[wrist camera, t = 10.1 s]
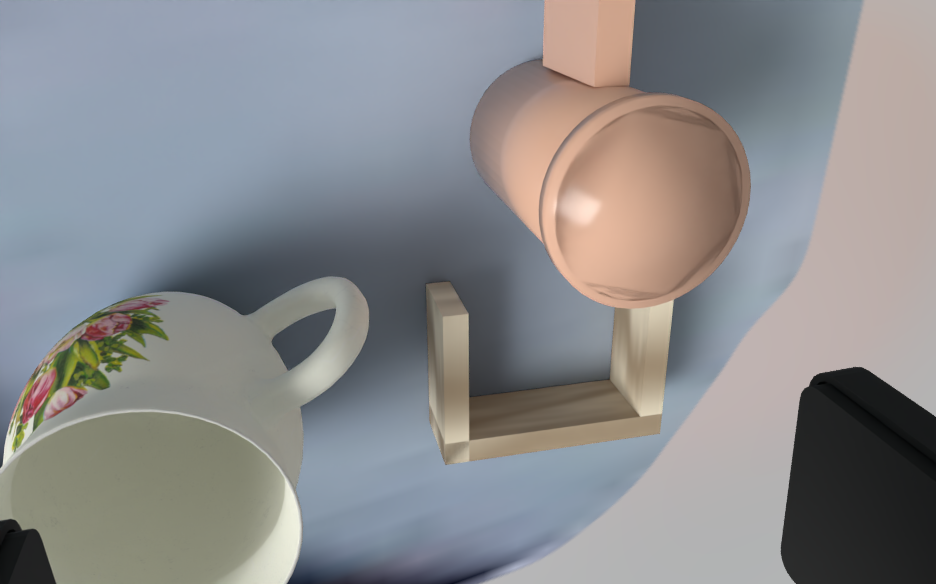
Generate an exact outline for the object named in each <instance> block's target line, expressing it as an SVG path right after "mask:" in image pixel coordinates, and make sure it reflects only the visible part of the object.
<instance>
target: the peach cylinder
mask: <svg viewBox="0 0 936 584" xmlns="http://www.w3.org/2000/svg"><path fill="white" fill-rule="evenodd" d="M634 13H635V0H545V6H544V39H543V59H541V60H533V61H529V62H525V63H522V64H520V65H517V66H515V67H513V68H511V69H510V70H508V71H506V72H505V73H504V74H502V75H501V76H500V77H498V78H497V79H496V80H495V81H494V82H493V83H492V84H491V85H490V86H489V88H488V89H487V90H486V91H485V93H484V94H483V96H482V98H481V99H480V101H479V103H478V105H477V107H476V109H475V112H474V115H473V119H472V123H471V128H470V149H471V154H472V159H473V162H474V165H475V167H476V169H477V171H478V173H479V175H480V177H481V178H482V179H483V181H484V182H485V183H486V185H487V186H488V187H489V188H490V189H491V190H492V191H493V192H494V193H495V194H496V195H497V196H498V197H499V198H500V199H501V200H502V201H503V202H504V203H505V204H506V205H507V206H508V207H509V208H510V210H511V211H512V212H513V213H514V214H515V215H516V216H517V217H518V218H519V219H520V220H521V221H522V222H523V223H524V224H525V225H526V226H527V227H528V228H529V229H530V230H531V231H532V232H533V233H534V234H535V235H536V236H537V237H538V238H539V239H540V240H541V241H542V243H543V244H544V246H545V249H546V251H547V253H548V255H549V257H550V259H551V261H552V262H553V264H554V265H555V267H556V268H557V270H558V271H559V272H560V273H561V274H562V275H563V276H564V277H565V278H566V279H567V280H568V281H569V283H570V284H571V285H572V286H573V287H574V288H576V289H577V290H578V291H579V292H581V293H582V294H583V295H585V296H587V297H588V298H590V299H592V300H594V301H596V302H599V303H601V304H604V305H608V306H612V307H616V308H627V309H635V308H646V307H652V306H656V305H660V304H663V303H666V302H669V301H671V300H674V299H676V298H678V297H680V296H682V295H684V294H686V293H687V292H689V291H691V290H692V289H694V288H695V287H696V286H698V285H699V284H701V283H702V282H703V281H704V280H705V279H706V278H708V277H709V276H710V275H711V274H712V273H713V272H714V271H715V270H716V269H717V268H718V266H719V265H720V264H721V263H722V262H723V260H724V259H725V258H726V256H727V255H728V254H729V252H730V251H731V249H732V247H733V246H734V244H735V242H736V240H737V238H738V236H739V234H740V232H741V229H742V227H743V224H744V221H745V218H746V215H747V211H748V206H749V201H750V188H751V183H750V170H749V165H748V160H747V157H746V154H745V150H744V148H743V146H742V144H741V142H740V140H739V137H738V136H737V134H736V133H735V131H734V130H733V129H732V127H731V126H730V125H729V124H728V123H727V122H726V121H725V120H724V119H723V118H722V117H721V116H720V115H719V114H717V113H716V112H715V111H713V110H712V109H710V108H709V107H707V106H705V105H703V104H701V103H699V102H696V101H693V100H690V99H687V98H684V97H681V96H678V95H675V94H669V93H661V92H647V93H646V92H643V91H640V90H638V89H635V88H632V87H630V86H629V83H630V69H631V55H632V41H633V27H634Z"/></svg>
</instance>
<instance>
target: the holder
mask: <svg viewBox="0 0 936 584" xmlns="http://www.w3.org/2000/svg"><path fill="white" fill-rule="evenodd" d="M673 302H674V300H671V301H669V302H666V303H663V304H660V305H656V306H652V307H646V308H635V309H627V308H616V307H615V313H614V327H613V341H612V354H611V368H610V379H609V380H601V381H593V382H586V383H578V384H570V385H562V386H554V387H547V388H539V389H531V390H523V391H515V392H508V393H500V394H492V395H484V396H476V397H469V314H468V312H467V310H466V309H465V307H464V305H463V303H462V302H461V300H460V298H459V297H458V295H457V293H456V291H455V290H454V288H453V286H452V285H451V283H450V281H448V282H438V283H428V284H426V303H427V340H428V378H429V415H430V424H431V427H432V430H433V432H434V435H435V438H436V440H437V443H438V446H439V449H440V451H441V454H442V457H443V459H444V462H445V465H447V464H454V463H461V462H468V461H475V460H482V459H489V458H496V457H502V456H509V455H516V454H523V453H530V452H537V451H544V450H551V449H557V448H564V447H571V446H578V445H585V444H592V443H599V442H606V441H612V440H619V439H626V438H633V437H640V436H647V435H654V434H660V427H661V417H662V408H663V398H664V388H665V379H666V369H667V360H668V350H669V340H670V331H671V321H672V311H673Z"/></svg>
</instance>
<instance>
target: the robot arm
mask: <svg viewBox="0 0 936 584" xmlns="http://www.w3.org/2000/svg"><path fill="white" fill-rule="evenodd" d="M781 556H782V561H783V564H784V567H785V569H786V571H787V573H788V574H789V576H790V577H791V578H792V580H793V581H794V582H795V583H796V584H936V417H935V416H934V415H932V414H931V413H930V412H928V411H927V410H925V409H924V408H922V407H921V406H919V405H918V404H916V403H915V402H914V401H912V400H911V399H909V398H907V397H906V396H905V395H903V394H902V393H900V392H899V391H897V390H896V389H895V388H893V387H892V386H890V385H889V384H887V383H886V382H884V381H883V380H881V379H880V378H878V377H877V376H876V375H874V374H873V373H871V372H870V371H868V370H866V369H864V368H862V367H853V368H847V369H841V370H836V371H830V372H825V373H820V374H817V375H816V376H814V377H813V379H812V380H811V382H810V385H809V387H807V388H805V389H804V390H803V392H802V393H801V397H800V402H799V410H798V418H797V426H796V434H795V441H794V449H793V457H792V465H791V472H790V480H789V489H788V496H787V503H786V511H785V519H784V527H783V535H782V542H781ZM0 584H56V581H55V578H54V575H53V572H52V569H51V566H50V563H49V560H48V557H47V554H46V551H45V547H44V544H43V541H42V539H41V536H40V534H39V532H38V531H37V530H36V529H33V528H32V529H27V530H22V529H21V527H20V525H19V524H18V522H17V521H16V520H13V519H7V520H1V521H0Z"/></svg>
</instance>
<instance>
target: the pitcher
mask: <svg viewBox="0 0 936 584" xmlns="http://www.w3.org/2000/svg"><path fill="white" fill-rule="evenodd" d="M334 308H336V315H335V318H334V321H333V324H332V327H331V329H330V331H329V333H328V334H327V336H326V337H325V339H324V340H323V342H322V343H321V344H320V345H319V346H318V348H317V349H316V350H315V351H314V352H313V353H312V354H311V355H310V356H309V357H308V358H306V359H305V360H304V361H303V362H301V363H300V364H299V365H297V366H296V367H294V368H293V369H291V370H289V371H288V370H287V368H286V367H285V365H284V363H283V361H282V359H281V358H280V356H279V354H278V352H277V351H276V349H275V348H274V347H273V345H272V339H273V337H274V336H275V335H276V334H278V333H279V332H280V331H282V330H283V329H285V328H286V327H288V326H290V325H291V324H293V323H295V322H297V321H298V320H300V319H302V318H304V317H307V316H309V315H312V314H315V313H318V312H321V311H324V310H328V309H334ZM368 329H369V308H368V305H367V301H366V299H365V297H364V296H363V295H362V293H361V292H360V290H359V289H358V288H357V286H356V285H355V284H354V283H353V282H352V281H350V280H348V279H346V278H342V277H334V276H329V277H323V278H319V279H315V280H312V281H309V282H307V283H304V284H302V285H299V286H297V287H295V288H293V289H291V290H289V291H288V292H286V293H284V294H282V295H281V296H279V297H277V298H276V299H274V300H272V301H271V302H269V303H267V304H266V305H264V306H263V307H261V308H260V309H258V310H257V311H255V312H254V313H251V314H249V315H241V314H239V313H238V312H237V311H236V310H234V309H232V308H230V307H228V306H227V305H225V304H223V303H221V302H219V301H216V300H214V299H211V298H209V297H205V296H201V295H197V294H192V293H185V292H157V293H149V294H144V295H140V296H135V297H131V298H128V299H126V300H123V301H120V302H117V303H115V304H113V305H110V306H108V307H106V308H104V309H102V310H100V311H98V312H96V313H95V314H93V315H92V316H90V317H89V318H87V319H86V320H84V321H83V322H81V323H80V324H78V325H77V326H76V327H74V328H73V329H72V330H71V331H70V332H69V333H67V334H66V335H65V336H64V337H63V338H62V339H61V340H60V341H59V342H58V343H57V344H56V345H55V346H54V347H53V348H52V349H51V350H50V352H49V353H48V354H47V355H46V356H45V357H44V359H43V360H42V361H41V363H40V364H39V365H38V367H37V368H36V370H35V371H34V373H33V374H32V376H31V378H30V379H29V381H28V382H27V384H26V386H25V388H24V390H23V392H22V393H21V395H20V398H19V400H18V403H17V405H16V407H15V410H14V412H13V415H12V418H11V421H10V425H9V429H8V433H7V437H6V442H5V448H4V460H3V466H2V467H1V468H0V521H1V520H7V519H13V520H16V521H17V522H18V524H19V525H20V527H21V529H22V530H27V529H32V528H33V529H36V530H37V531H38V532H39V534H40V536H41V539H42V541H43V544H44V547H45V551H46V554H47V557H48V560H49V563H50V566H51V569H52V572H53V575H54V578H55V581H56V584H287V582H288V581H289V579H290V577H291V575H292V573H293V571H294V569H295V566H296V563H297V561H298V558H299V554H300V550H301V545H302V537H303V521H302V512H301V507H300V503H299V500H298V496H297V493H296V489H295V488H296V486H297V483H298V478H299V473H300V469H301V464H302V457H303V425H302V416H301V408H300V406H302V405H304V404H306V403H308V402H310V401H311V400H313V399H314V398H316V397H317V396H319V395H320V394H322V393H323V392H324V391H326V390H327V389H328V388H330V387H331V386H332V385H333V384H334V383H335V382H336V381H337V380H338V379H339V378H341V377H342V376H343V375H344V373H345V372H346V371H347V370H348V368H349V367H350V366H351V365H352V364H353V362H354V361H355V359H356V357H357V356H358V354H359V353H360V351H361V349H362V347H363V344H364V342H365V340H366V337H367V333H368Z"/></svg>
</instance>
